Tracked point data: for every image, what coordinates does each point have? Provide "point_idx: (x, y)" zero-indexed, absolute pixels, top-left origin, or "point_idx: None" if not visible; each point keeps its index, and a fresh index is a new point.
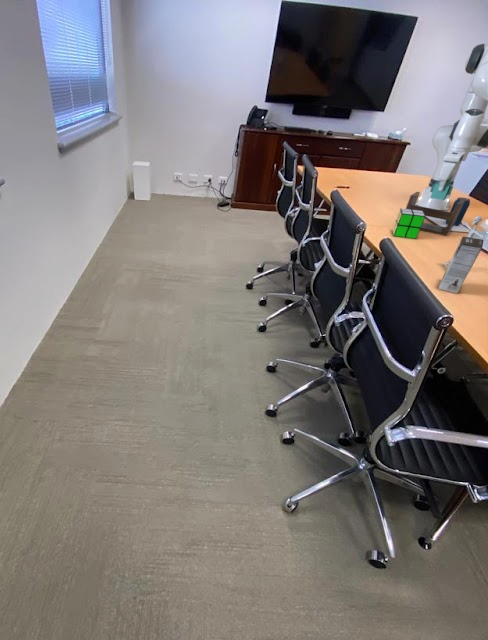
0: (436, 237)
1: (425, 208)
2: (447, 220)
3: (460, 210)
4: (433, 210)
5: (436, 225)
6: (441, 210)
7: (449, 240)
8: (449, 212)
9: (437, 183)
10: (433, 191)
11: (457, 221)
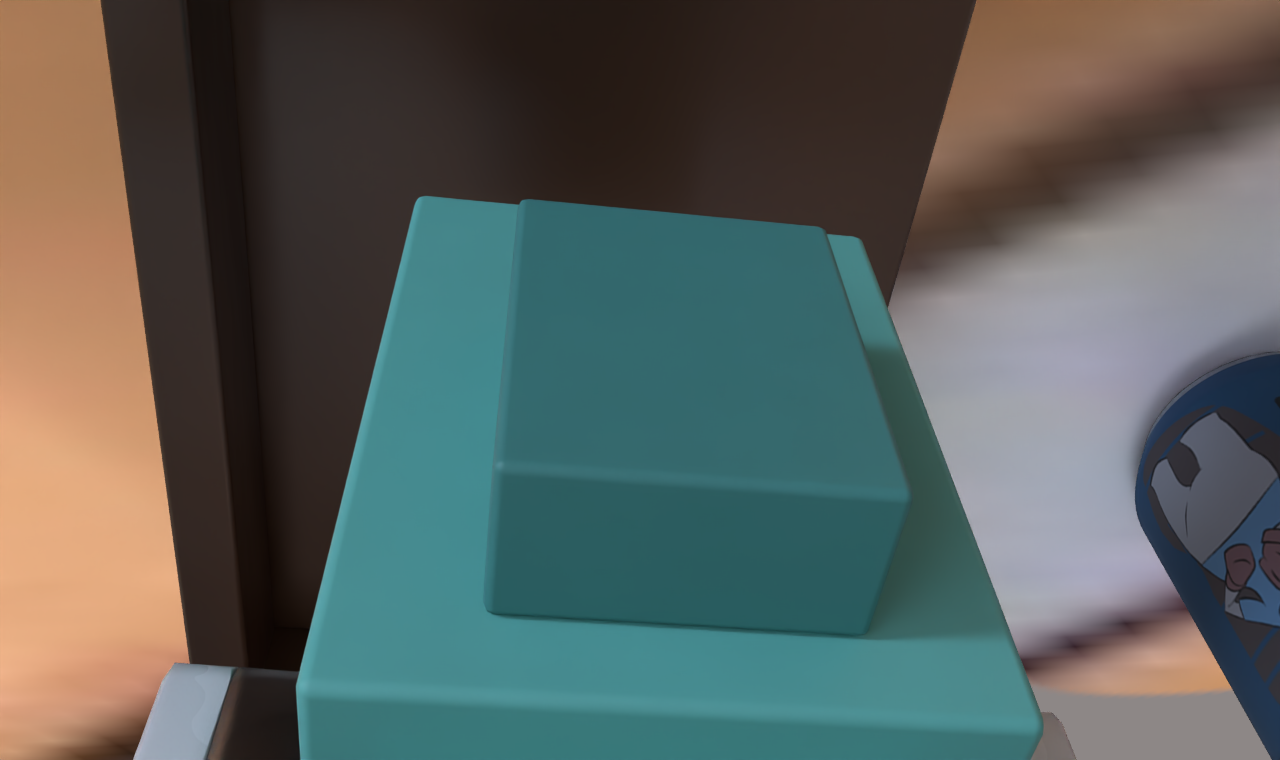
0: (32, 310)
1: (111, 55)
2: (1234, 394)
3: (1243, 681)
4: (154, 302)
5: None
6: (201, 500)
7: (58, 495)
8: (189, 654)
9: (520, 751)
10: (375, 395)
11: (1154, 548)
